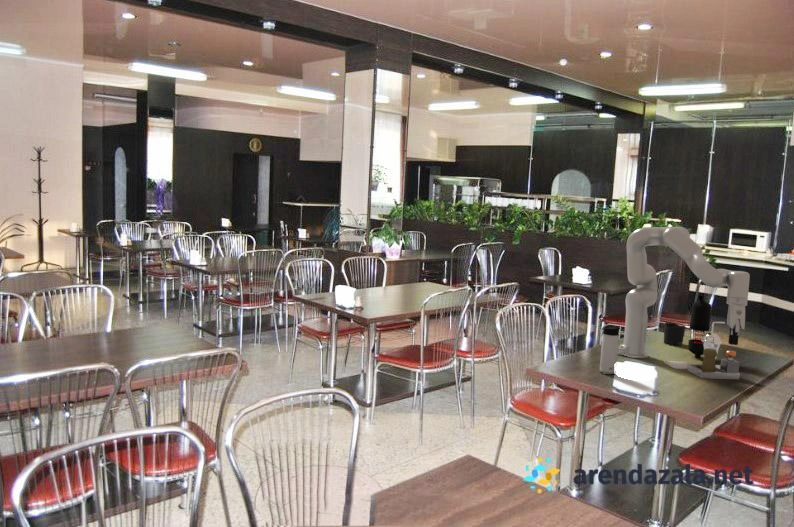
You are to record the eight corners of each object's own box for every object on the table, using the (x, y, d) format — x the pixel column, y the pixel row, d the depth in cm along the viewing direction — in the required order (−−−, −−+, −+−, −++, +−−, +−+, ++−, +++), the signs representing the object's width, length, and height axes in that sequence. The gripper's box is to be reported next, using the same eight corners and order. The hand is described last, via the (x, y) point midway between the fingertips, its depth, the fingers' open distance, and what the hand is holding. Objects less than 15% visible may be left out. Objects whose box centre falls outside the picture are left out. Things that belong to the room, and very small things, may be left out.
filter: (705, 361, 276) (712, 297, 273) (684, 357, 282) (690, 294, 278) (711, 355, 287) (717, 293, 284) (690, 352, 293) (696, 291, 289)
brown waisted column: (709, 377, 252) (712, 351, 251) (696, 373, 258) (699, 347, 256) (719, 375, 255) (721, 350, 254) (706, 371, 260) (708, 346, 259)
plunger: (728, 366, 252) (729, 352, 251) (723, 363, 255) (724, 350, 255) (736, 366, 252) (738, 352, 251) (731, 363, 255) (732, 350, 255)
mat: (674, 368, 263) (674, 367, 263) (663, 362, 273) (663, 360, 273) (696, 369, 263) (696, 368, 263) (685, 362, 273) (685, 361, 273)
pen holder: (665, 345, 305) (667, 326, 303) (660, 341, 314) (662, 322, 313) (685, 347, 303) (687, 327, 302) (679, 342, 312) (681, 323, 311)
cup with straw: (711, 360, 280) (715, 317, 277) (724, 365, 271) (729, 322, 269) (694, 360, 278) (699, 317, 276) (708, 365, 270) (712, 322, 267)
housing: (701, 378, 250) (703, 361, 249) (686, 369, 262) (688, 354, 261) (739, 379, 251) (741, 362, 250) (722, 370, 263) (724, 355, 262)
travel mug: (614, 376, 248) (618, 328, 246) (597, 373, 252) (601, 326, 249) (617, 372, 253) (621, 326, 251) (601, 369, 257) (605, 323, 254)
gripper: (751, 304, 242) (747, 349, 244) (742, 298, 256) (738, 341, 258) (730, 303, 244) (726, 347, 246) (723, 297, 258) (719, 339, 260)
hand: (733, 344), depth 252 cm, fingers closed
